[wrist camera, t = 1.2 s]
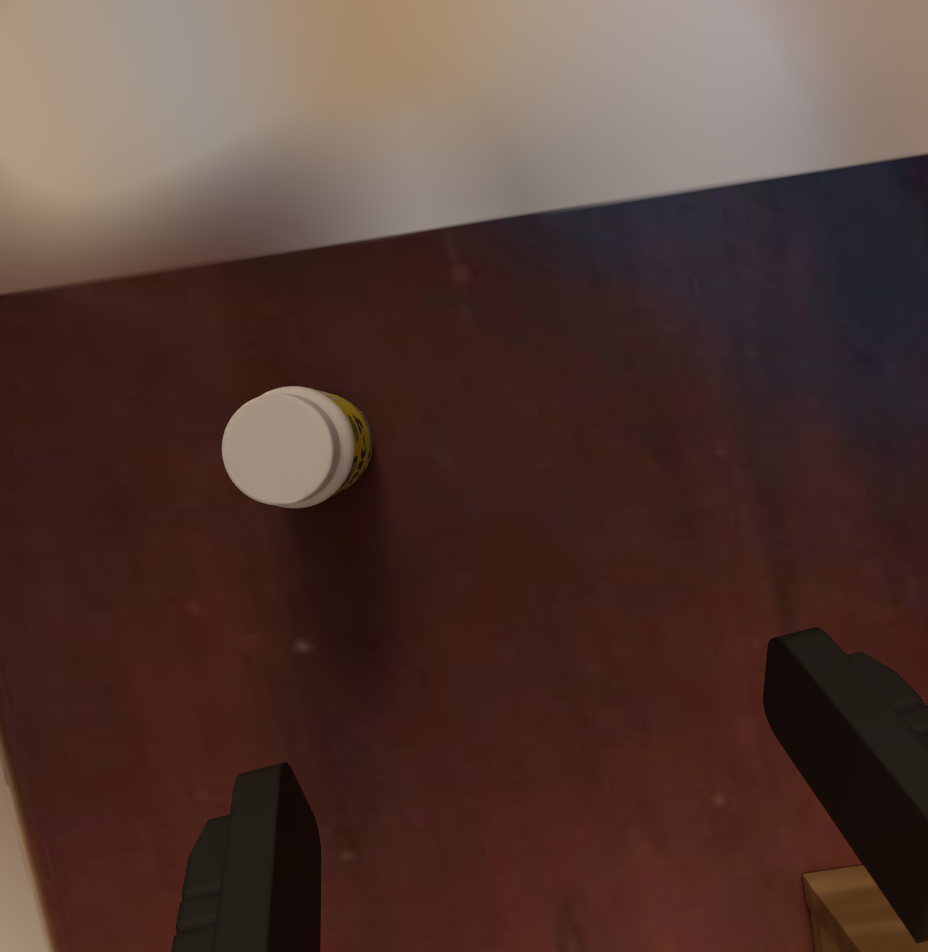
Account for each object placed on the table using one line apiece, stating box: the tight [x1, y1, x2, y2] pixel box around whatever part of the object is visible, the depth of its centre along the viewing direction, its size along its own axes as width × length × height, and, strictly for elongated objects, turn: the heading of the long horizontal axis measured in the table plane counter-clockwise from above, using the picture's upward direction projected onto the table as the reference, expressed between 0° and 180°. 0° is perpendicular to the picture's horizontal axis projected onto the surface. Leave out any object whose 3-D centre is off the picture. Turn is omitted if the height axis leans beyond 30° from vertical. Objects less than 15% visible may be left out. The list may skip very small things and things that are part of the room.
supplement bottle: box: [222, 386, 372, 508], centre depth 28 cm, size 5×5×8 cm
